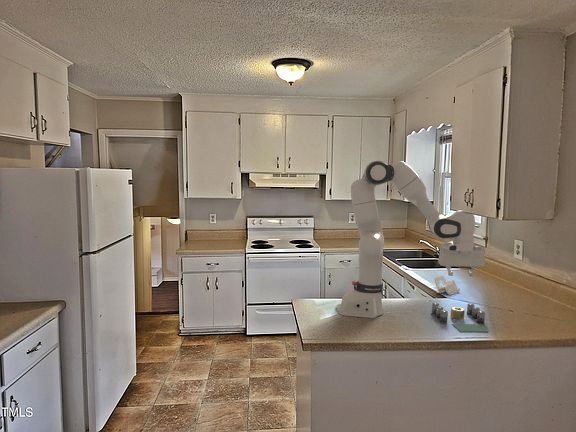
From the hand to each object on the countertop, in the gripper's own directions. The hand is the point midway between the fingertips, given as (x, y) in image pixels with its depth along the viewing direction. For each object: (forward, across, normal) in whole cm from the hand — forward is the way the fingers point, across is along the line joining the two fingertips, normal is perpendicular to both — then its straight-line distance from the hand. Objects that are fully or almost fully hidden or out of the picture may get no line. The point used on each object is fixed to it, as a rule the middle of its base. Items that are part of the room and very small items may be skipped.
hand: (460, 275), depth 181 cm
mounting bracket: (+21, -12, -40) cm, 47 cm away
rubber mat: (+20, 0, +12) cm, 24 cm away
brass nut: (+20, 0, 0) cm, 20 cm away
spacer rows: (+20, 0, 0) cm, 20 cm away
